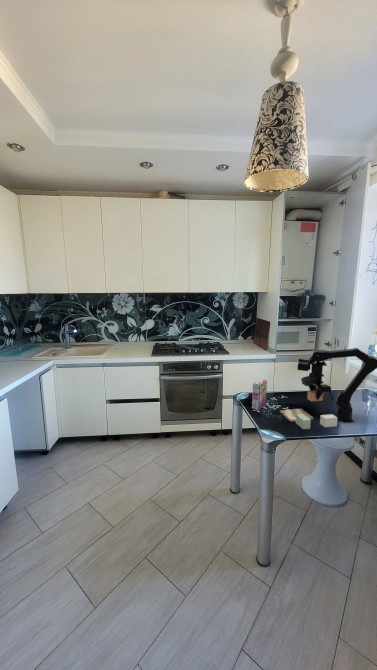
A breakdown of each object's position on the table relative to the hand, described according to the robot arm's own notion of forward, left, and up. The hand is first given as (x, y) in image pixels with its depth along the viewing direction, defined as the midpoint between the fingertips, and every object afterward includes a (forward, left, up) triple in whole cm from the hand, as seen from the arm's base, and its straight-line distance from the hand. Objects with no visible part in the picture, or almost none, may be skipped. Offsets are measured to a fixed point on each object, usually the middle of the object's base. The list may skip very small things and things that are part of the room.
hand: (314, 397), depth 150 cm
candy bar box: (+27, -15, -10) cm, 33 cm away
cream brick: (0, +13, -10) cm, 17 cm away
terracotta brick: (0, 0, -1) cm, 1 cm away
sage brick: (+14, +12, -10) cm, 21 cm away
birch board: (+11, 0, -10) cm, 15 cm away
